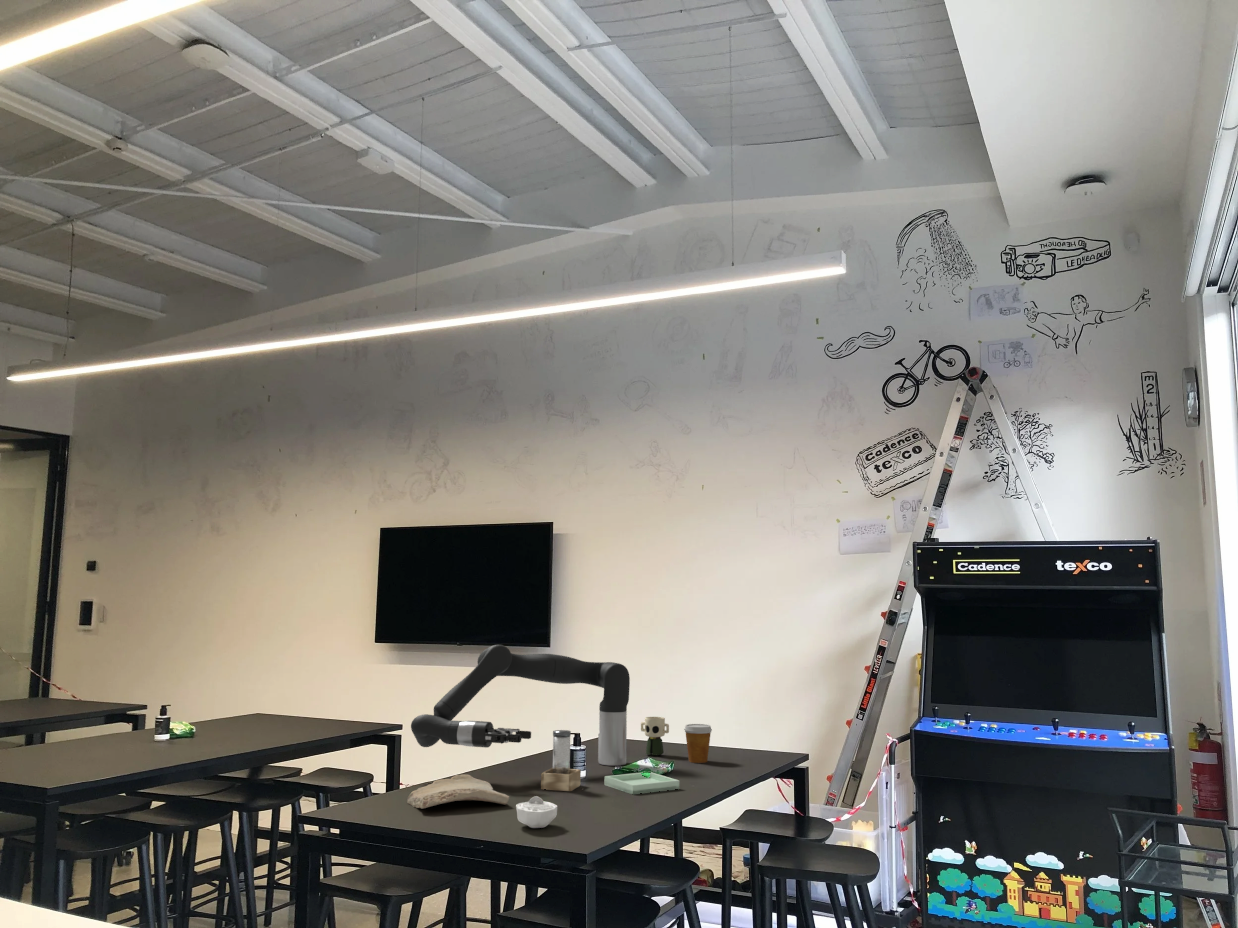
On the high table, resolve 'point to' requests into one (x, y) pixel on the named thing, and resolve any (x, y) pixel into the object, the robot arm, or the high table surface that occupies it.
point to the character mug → (654, 734)
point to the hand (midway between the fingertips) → (525, 736)
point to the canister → (561, 751)
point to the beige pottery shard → (455, 792)
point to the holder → (560, 780)
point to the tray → (641, 783)
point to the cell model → (536, 812)
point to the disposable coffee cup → (698, 742)
